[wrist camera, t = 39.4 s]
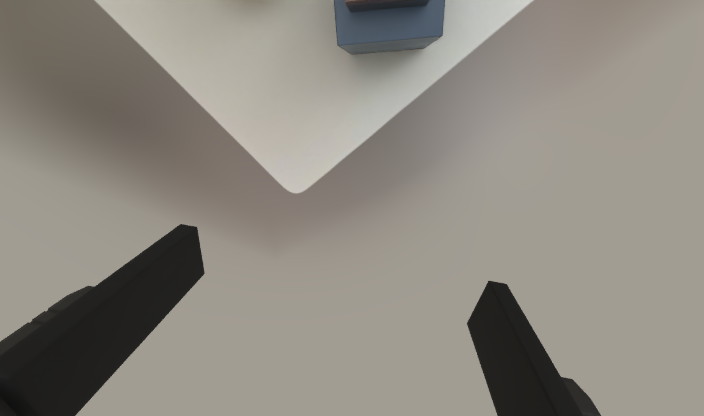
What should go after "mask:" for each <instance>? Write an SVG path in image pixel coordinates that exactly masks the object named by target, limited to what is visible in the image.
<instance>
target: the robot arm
mask: <svg viewBox="0 0 704 416" xmlns="http://www.w3.org/2000/svg"><path fill="white" fill-rule="evenodd" d="M203 275H204V267H203V261H202V255H201V249H200V242H199V237H198V230H197V227H194V226H188V225H182V224H181V225H179V226H177V227H176V228H175V229H173V230H172V231H171V232H169V233H168V234H167V235H165V236H164V237H162V238H161V239H160V240H158V241H157V242H155V243H154V244H153V245H151V246H150V247H149V248H147V249H146V250H144V251H143V252H142V253H140V254H139V255H138V256H136V257H135V258H134V259H132V260H131V261H130V262H128V263H127V264H125V265H124V266H123V267H121V268H120V269H118V270H117V271H116V272H114V273H113V274H112V275H110V276H109V277H108V278H106V279H105V280H103V281H102V282H101V283H99V284H98V285H96V286H95V287H92V286H87V287H85V288H83V289H80V290H78V291H76V292H74V293H72V294H69V295H67V296H66V297H64V298H63V299H62V300H60V301H59V302H57V303H56V304H54V305H53V306H51V307H50V308H48V311H46V312H45V311H44V312H43V313H41V314H40V315H38V316H37V317H36V318H34V319H33V320H32V322H30V323H27V324H25V325H24V326H23V327H21V328H20V329H18V330H17V331H15V332H14V333H12V334H11V335H9V336H8V337H7V338H5V339H4V340H2V341H1V342H0V416H75V415H76V414H77V413H78V412H79V411H80V410H81V409H82V408H83V407H84V405H85V404H86V403H87V402H88V401H89V400H90V399H91V398H92V397H93V396H94V394H95V393H96V392H97V391H98V390H99V389H100V388H101V387H102V386H103V384H104V383H105V382H106V381H107V380H108V379H109V378H110V377H111V376H112V375H113V374H114V372H115V371H116V370H117V369H118V368H119V367H120V366H121V365H122V364H123V362H124V361H125V360H126V359H127V358H128V357H129V356H130V355H131V354H132V353H133V352H134V351H135V349H136V348H137V347H138V346H139V345H140V344H141V343H142V342H143V341H144V340H145V338H146V337H147V336H148V335H149V334H150V333H151V332H152V331H153V330H154V329H155V327H156V326H157V325H158V324H159V323H160V322H161V321H162V319H164V318H165V316H166V315H167V314H168V313H169V312H170V311H171V310H172V309H173V308H174V307H175V305H176V304H177V303H178V302H179V301H180V300H181V299H182V298H183V296H185V294H186V293H187V292H188V291H189V290H190V289H191V288H192V287H193V286H194V285H195V283H196V282H197V281H198V280H199V279H200V278H201V277H202V276H203ZM467 325H468V328H469V331H470V334H471V337H472V340H473V343H474V346H475V349H476V352H477V355H478V358H479V361H480V364H481V367H482V370H483V373H484V376H485V379H486V382H487V385H488V388H489V391H490V394H491V397H492V400H493V403H494V406H495V409H496V412H497V415H498V416H601V415H600V413H599V412H598V410H597V408H596V407H595V405H594V404H593V402H592V401H591V399H590V398H589V397H588V395H587V394H586V393H585V392H584V391H583V390H582V389H581V388H580V387H579V386H578V385H577V384H576V383H575V382H574V380H572V379H568V378H563V377H561V376H560V375H559V373H558V371H557V370H556V368H555V366H554V364H553V363H552V361H551V359H550V358H549V356H548V354H547V353H546V351H545V349H544V347H543V346H542V344H541V342H540V340H539V339H538V337H537V335H536V334H535V332H534V330H533V329H532V327H531V325H530V324H529V322H528V320H527V318H526V316H525V315H524V313H523V312H522V310H521V308H520V306H519V305H518V303H517V301H516V299H515V298H514V296H513V294H512V293H511V291H510V289H509V287H508V286H507V284H504V283H498V282H493V281H488V283H487V285H486V287H485V289H484V291H483V293H482V295H481V297H480V299H479V301H478V303H477V305H476V307H475V309H474V311H473V313H472V315H471V317H470V319H469V320H468V322H467Z"/></svg>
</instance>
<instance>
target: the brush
mask: <svg viewBox="0 0 704 416" xmlns="http://www.w3.org/2000/svg"><path fill="white" fill-rule="evenodd" d="M344 2H345V4H346V6H347V8H348V9H349V11H350V12H359V11H370V10H381V9H392V8H404V7H415V6H426V5H427V4H428V2H429V0H344Z"/></svg>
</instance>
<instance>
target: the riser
mask: <svg viewBox="0 0 704 416" xmlns="http://www.w3.org/2000/svg"><path fill="white" fill-rule="evenodd" d="M334 7H335V20H336V32H337V45H338V46H339V47H341V48H342V49H344V50H345V51H347V52H348V53H350V54H364V53H375V52H386V51H397V50H409V49H420V48H425V47H427V46H428V45H430V44H431V43H433V42H434V41H436V40H437V39H438V38H440V37H441V36H442V35H443V21H444V7H445V0H429V2H428V4H427V5H426V6H415V7H404V8H392V9H381V10H370V11H359V12H350V11H349V9H348V8H347V6H346V4H345V2H344V0H334Z"/></svg>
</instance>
